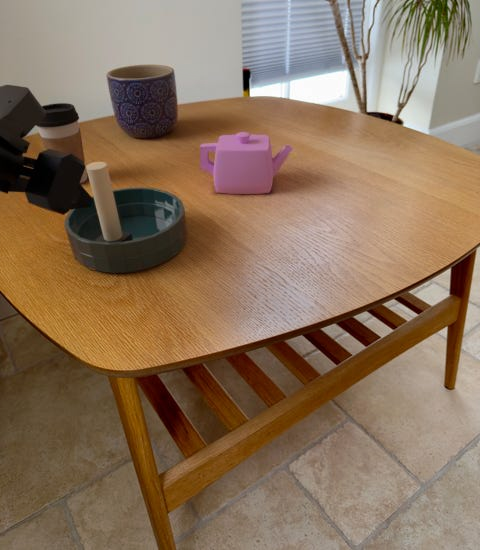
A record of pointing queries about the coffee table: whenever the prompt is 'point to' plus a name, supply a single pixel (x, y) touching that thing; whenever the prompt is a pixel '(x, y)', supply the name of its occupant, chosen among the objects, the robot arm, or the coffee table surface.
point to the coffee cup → (62, 131)
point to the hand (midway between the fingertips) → (65, 195)
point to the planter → (144, 99)
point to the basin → (130, 231)
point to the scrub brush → (105, 204)
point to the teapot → (242, 163)
